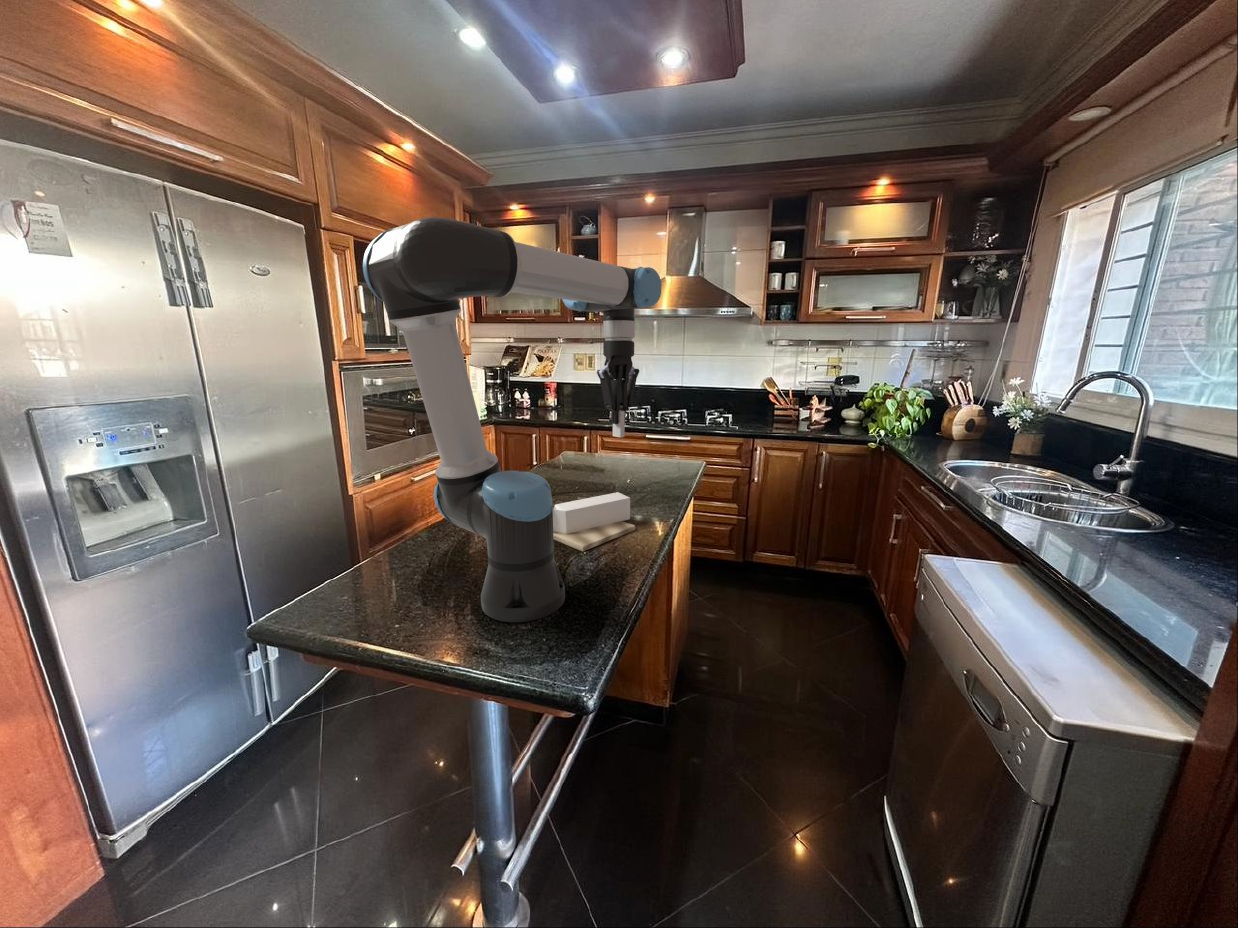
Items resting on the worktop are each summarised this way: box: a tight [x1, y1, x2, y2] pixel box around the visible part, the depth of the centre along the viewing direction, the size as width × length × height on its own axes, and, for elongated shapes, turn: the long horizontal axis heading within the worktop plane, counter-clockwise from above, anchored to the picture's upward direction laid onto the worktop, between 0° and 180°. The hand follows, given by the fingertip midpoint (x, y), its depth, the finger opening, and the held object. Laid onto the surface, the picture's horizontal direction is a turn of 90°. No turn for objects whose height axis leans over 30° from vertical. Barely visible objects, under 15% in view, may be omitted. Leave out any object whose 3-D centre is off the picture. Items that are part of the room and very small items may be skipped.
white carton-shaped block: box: [553, 491, 631, 534], centre depth 122 cm, size 6×6×22 cm
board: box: [553, 521, 636, 552], centre depth 119 cm, size 18×12×1 cm, turn 137°
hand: (618, 436), depth 121 cm, fingers closed
